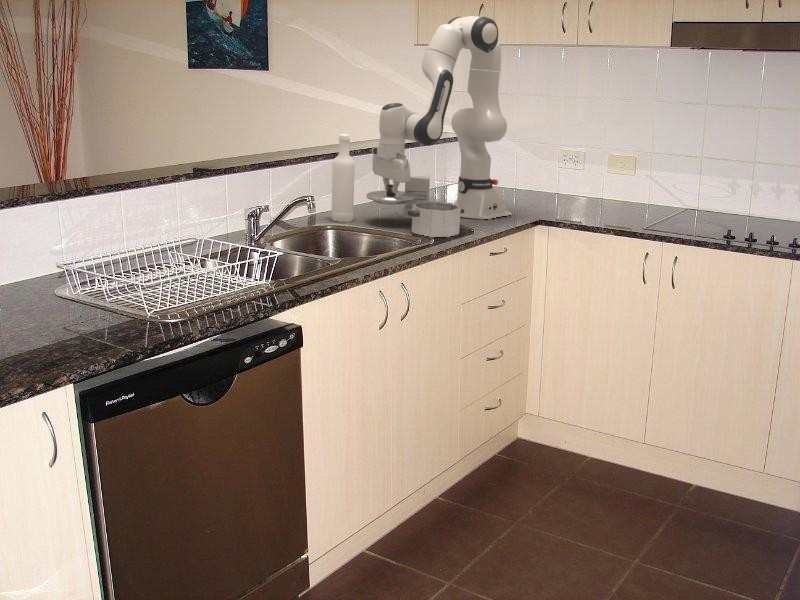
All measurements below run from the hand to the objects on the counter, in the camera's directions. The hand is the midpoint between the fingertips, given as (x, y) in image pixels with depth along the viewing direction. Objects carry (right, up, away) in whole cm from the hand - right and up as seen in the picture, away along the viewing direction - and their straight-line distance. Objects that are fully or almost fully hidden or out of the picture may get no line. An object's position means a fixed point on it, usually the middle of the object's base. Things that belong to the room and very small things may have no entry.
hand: (391, 191), depth 308 cm
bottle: (-17, -10, +4) cm, 20 cm away
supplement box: (+9, -7, +17) cm, 20 cm away
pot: (+15, -15, -8) cm, 22 cm away
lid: (0, -3, +1) cm, 3 cm away
